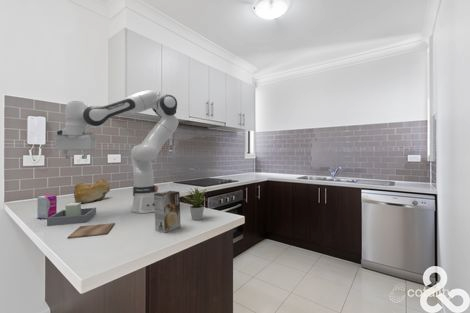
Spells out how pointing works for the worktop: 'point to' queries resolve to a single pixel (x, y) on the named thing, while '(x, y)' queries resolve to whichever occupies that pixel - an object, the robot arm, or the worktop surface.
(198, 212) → the house plant
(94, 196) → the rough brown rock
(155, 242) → the worktop surface
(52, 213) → the supplement box
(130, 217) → the worktop surface
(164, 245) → the worktop surface
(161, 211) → the coffee box
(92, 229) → the walnut pad
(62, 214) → the frame
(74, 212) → the sage block
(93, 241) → the worktop surface
